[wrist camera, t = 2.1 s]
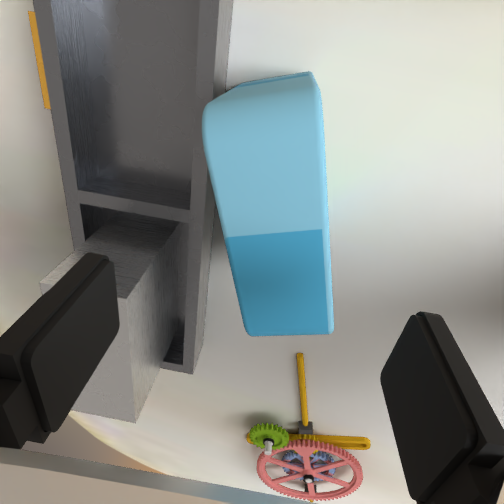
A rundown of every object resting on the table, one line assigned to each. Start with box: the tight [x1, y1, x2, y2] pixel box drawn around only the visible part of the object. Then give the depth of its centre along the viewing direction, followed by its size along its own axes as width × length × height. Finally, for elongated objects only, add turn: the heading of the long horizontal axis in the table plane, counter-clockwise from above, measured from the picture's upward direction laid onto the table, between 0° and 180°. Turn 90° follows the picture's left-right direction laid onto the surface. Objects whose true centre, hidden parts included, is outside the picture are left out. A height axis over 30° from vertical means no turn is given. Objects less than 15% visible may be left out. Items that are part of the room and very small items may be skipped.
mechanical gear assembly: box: [247, 353, 371, 502], centre depth 41 cm, size 30×4×15 cm
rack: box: [28, 0, 233, 423], centre depth 22 cm, size 11×33×11 cm, turn 172°
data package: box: [202, 71, 334, 336], centre depth 20 cm, size 12×4×12 cm, turn 9°
